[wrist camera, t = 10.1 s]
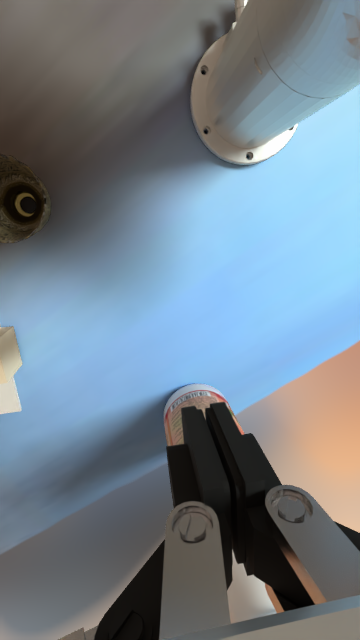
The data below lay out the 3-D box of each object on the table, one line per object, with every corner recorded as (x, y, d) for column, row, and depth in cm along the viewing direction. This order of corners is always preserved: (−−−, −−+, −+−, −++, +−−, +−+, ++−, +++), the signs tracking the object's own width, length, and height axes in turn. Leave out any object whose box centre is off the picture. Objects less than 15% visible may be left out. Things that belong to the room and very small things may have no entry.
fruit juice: (180, 371, 43) (253, 602, 17) (238, 394, 46) (384, 629, 19) (151, 427, 45) (176, 715, 19) (208, 446, 47) (304, 727, 21)
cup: (-15, 169, 33) (-58, 152, 26) (57, 167, 34) (36, 150, 27) (0, 241, 36) (-36, 245, 28) (68, 238, 37) (50, 240, 29)
